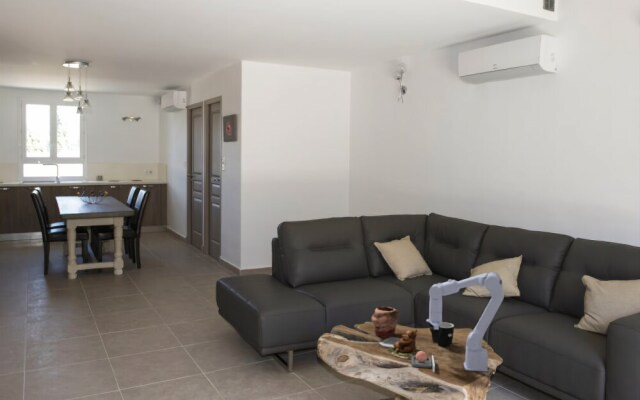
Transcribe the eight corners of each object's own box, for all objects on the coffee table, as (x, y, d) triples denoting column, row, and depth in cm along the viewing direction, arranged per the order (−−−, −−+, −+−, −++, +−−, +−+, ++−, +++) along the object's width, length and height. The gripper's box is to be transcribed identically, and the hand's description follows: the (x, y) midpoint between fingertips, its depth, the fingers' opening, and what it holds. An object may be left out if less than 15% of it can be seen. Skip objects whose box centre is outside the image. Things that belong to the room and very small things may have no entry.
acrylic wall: (433, 361, 250) (433, 355, 250) (434, 372, 238) (434, 365, 238) (431, 361, 250) (431, 355, 250) (433, 372, 238) (433, 365, 238)
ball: (426, 360, 250) (426, 349, 249) (427, 364, 245) (427, 353, 245) (415, 360, 251) (415, 349, 250) (415, 363, 246) (415, 352, 245)
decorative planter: (387, 326, 299) (387, 302, 298) (406, 331, 291) (406, 306, 290) (365, 336, 284) (366, 310, 283) (384, 341, 276) (385, 314, 275)
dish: (430, 360, 251) (430, 357, 251) (431, 367, 243) (431, 364, 243) (411, 359, 253) (411, 356, 252) (411, 366, 244) (412, 363, 244)
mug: (448, 349, 266) (448, 329, 265) (431, 344, 272) (432, 325, 271) (459, 342, 275) (459, 323, 274) (442, 338, 281) (443, 319, 280)
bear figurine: (400, 346, 270) (400, 322, 269) (426, 353, 260) (427, 329, 259) (384, 353, 260) (384, 328, 259) (411, 361, 250) (411, 336, 249)
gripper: (426, 306, 255) (425, 334, 257) (427, 315, 241) (426, 344, 242) (441, 306, 254) (440, 334, 256) (443, 316, 240) (442, 345, 241)
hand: (434, 339), depth 249 cm, fingers open, 7 cm apart
